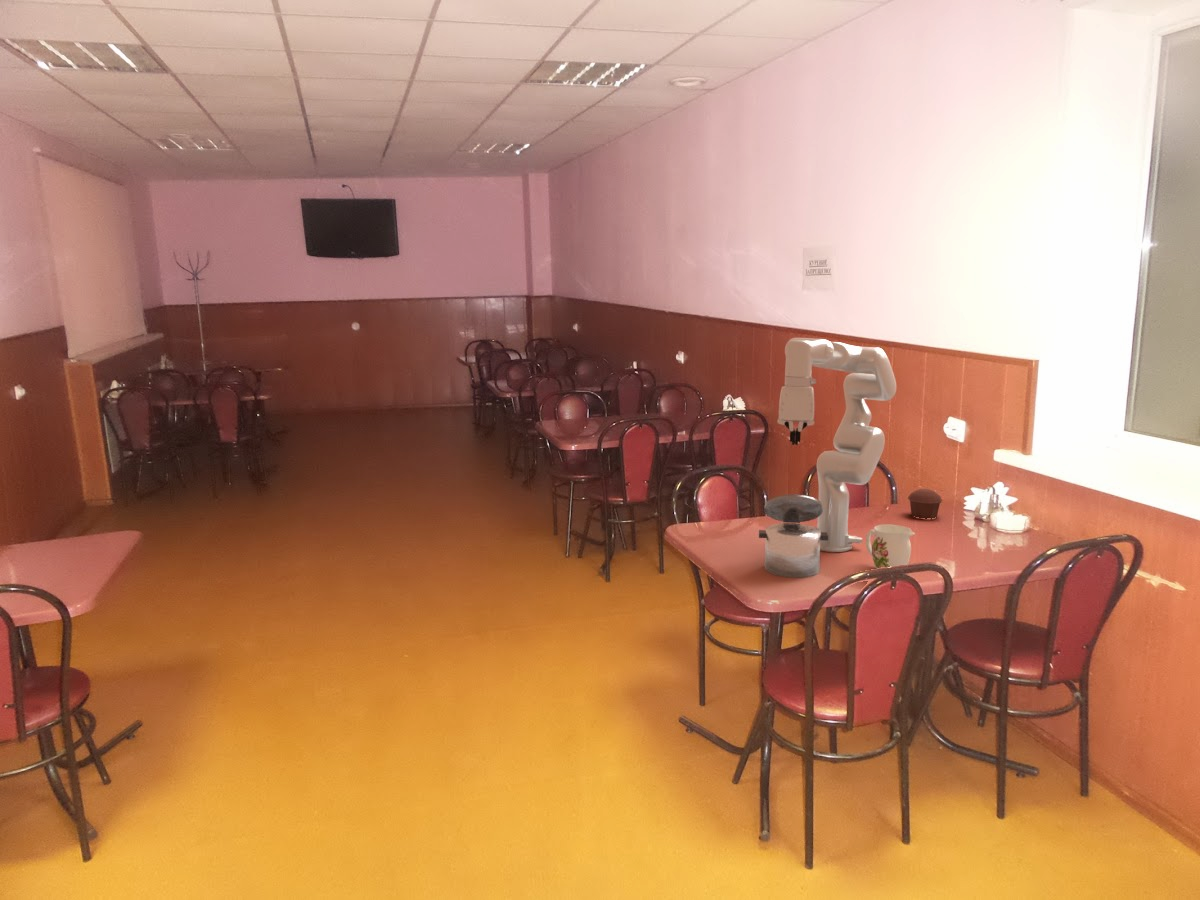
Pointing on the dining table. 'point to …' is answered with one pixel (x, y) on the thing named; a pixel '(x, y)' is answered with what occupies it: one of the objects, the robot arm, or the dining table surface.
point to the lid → (793, 508)
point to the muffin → (924, 503)
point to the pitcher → (889, 545)
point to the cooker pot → (792, 549)
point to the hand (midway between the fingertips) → (794, 444)
